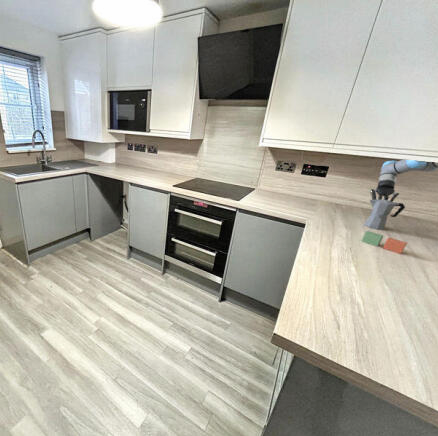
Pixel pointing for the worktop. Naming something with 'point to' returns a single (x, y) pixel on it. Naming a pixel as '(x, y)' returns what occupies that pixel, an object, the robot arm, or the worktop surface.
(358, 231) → the worktop surface
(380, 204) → the coffeepot
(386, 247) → the pair of rectangular blocks
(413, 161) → the robot arm
